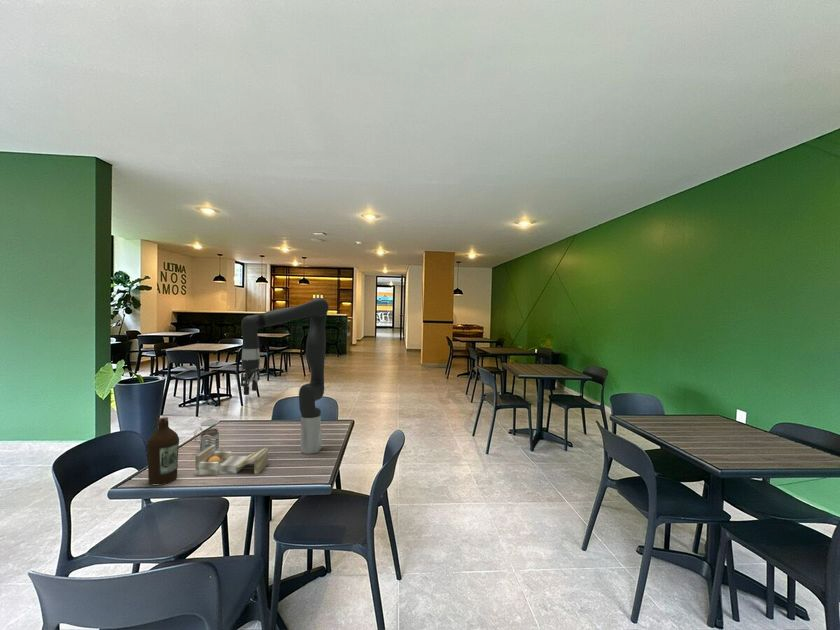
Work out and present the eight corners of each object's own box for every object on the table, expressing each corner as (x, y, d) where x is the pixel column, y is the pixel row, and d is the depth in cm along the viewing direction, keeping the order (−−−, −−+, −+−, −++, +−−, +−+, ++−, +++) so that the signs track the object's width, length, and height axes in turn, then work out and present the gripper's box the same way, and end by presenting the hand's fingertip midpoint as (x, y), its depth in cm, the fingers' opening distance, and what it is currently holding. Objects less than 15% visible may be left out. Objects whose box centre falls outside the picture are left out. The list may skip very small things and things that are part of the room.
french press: (224, 450, 177) (224, 399, 177) (197, 457, 169) (197, 404, 168) (217, 445, 184) (217, 396, 184) (190, 452, 175) (191, 400, 175)
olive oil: (140, 483, 144) (140, 420, 143) (168, 472, 153) (168, 413, 153) (157, 488, 139) (157, 423, 139) (184, 477, 149) (185, 416, 149)
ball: (224, 456, 160) (221, 466, 160) (213, 453, 160) (210, 463, 160) (218, 460, 155) (214, 471, 155) (206, 457, 155) (203, 468, 155)
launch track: (268, 462, 164) (269, 445, 164) (257, 475, 152) (257, 456, 152) (211, 462, 164) (212, 444, 163) (195, 475, 151) (195, 455, 151)
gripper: (249, 356, 177) (249, 389, 177) (235, 360, 163) (235, 396, 163) (265, 356, 177) (264, 389, 177) (252, 360, 163) (251, 396, 163)
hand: (250, 392), depth 170 cm, fingers open, 8 cm apart
